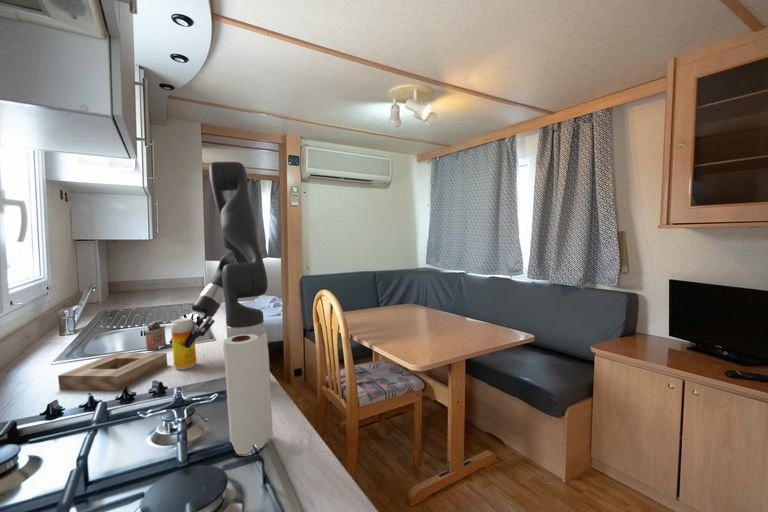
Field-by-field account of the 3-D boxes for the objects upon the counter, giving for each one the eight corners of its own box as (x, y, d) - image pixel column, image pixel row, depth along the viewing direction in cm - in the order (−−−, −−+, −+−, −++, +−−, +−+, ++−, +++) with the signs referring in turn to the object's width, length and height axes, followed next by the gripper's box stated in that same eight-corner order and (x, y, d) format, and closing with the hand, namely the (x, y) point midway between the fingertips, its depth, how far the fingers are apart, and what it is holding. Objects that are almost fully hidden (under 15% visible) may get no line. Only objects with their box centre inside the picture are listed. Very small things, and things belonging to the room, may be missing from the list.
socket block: (167, 365, 112) (166, 353, 111) (118, 390, 94) (117, 376, 94) (116, 364, 114) (115, 352, 113) (59, 389, 96) (58, 375, 96)
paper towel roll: (227, 460, 63) (218, 344, 61) (234, 441, 69) (227, 334, 67) (268, 454, 64) (261, 340, 63) (273, 436, 70) (266, 331, 69)
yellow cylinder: (189, 370, 107) (185, 321, 106) (170, 370, 107) (166, 322, 106) (200, 362, 113) (197, 317, 112) (181, 363, 113) (178, 317, 112)
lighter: (151, 352, 125) (149, 324, 125) (143, 352, 126) (141, 324, 125) (169, 345, 133) (167, 319, 133) (161, 344, 134) (159, 319, 133)
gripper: (188, 293, 118) (155, 337, 108) (217, 295, 112) (184, 342, 102) (203, 305, 123) (173, 348, 114) (232, 307, 117) (202, 354, 107)
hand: (178, 345), depth 108 cm, fingers closed on yellow cylinder, 6 cm apart
